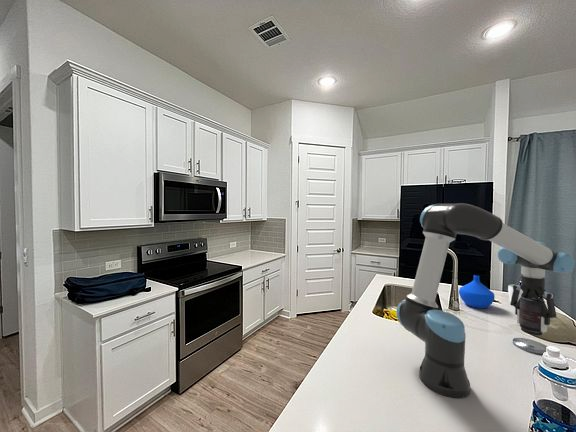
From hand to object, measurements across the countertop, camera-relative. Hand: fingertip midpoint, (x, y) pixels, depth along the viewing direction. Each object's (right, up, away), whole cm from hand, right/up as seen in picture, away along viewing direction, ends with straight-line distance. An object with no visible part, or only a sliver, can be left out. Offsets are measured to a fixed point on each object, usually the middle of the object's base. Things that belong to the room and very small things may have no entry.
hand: (531, 327), depth 110 cm
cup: (+41, -9, +51) cm, 66 cm away
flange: (0, -9, 0) cm, 9 cm away
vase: (+13, -9, +49) cm, 52 cm away
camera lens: (0, -2, 0) cm, 2 cm away
